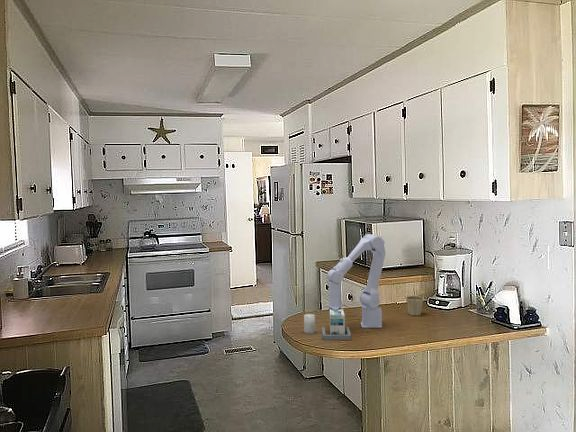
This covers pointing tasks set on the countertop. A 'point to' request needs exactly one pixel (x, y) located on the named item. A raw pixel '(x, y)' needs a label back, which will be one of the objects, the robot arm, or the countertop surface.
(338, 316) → the light bulb box
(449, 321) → the countertop surface
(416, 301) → the flower pot
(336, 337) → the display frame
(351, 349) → the countertop surface
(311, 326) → the white cylinder
